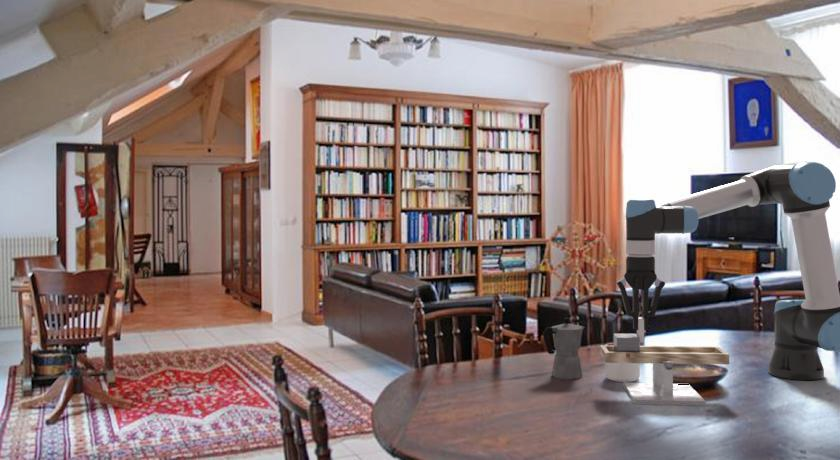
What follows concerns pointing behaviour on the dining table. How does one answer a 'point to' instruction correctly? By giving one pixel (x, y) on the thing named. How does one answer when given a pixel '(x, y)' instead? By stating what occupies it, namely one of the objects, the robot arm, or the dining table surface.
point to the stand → (663, 389)
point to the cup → (622, 371)
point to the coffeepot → (565, 349)
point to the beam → (667, 355)
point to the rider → (626, 343)
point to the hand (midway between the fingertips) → (640, 341)
